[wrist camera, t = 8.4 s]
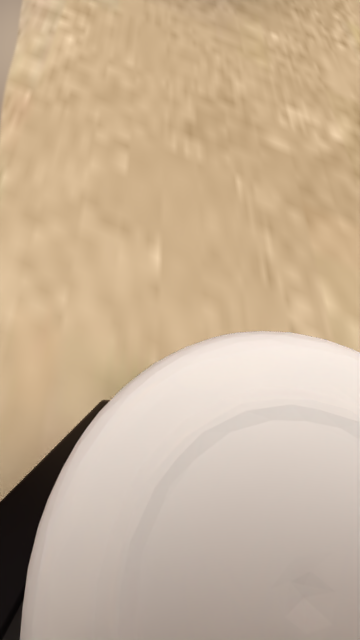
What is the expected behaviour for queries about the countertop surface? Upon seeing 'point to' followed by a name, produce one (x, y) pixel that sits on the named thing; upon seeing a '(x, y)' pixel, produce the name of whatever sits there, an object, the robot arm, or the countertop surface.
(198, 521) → the sprinkles bottle
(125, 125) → the countertop surface
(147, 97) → the countertop surface
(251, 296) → the countertop surface
